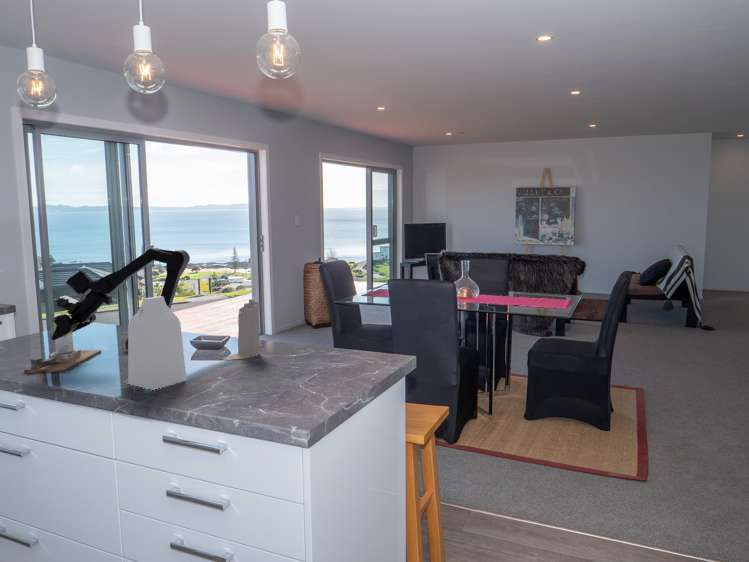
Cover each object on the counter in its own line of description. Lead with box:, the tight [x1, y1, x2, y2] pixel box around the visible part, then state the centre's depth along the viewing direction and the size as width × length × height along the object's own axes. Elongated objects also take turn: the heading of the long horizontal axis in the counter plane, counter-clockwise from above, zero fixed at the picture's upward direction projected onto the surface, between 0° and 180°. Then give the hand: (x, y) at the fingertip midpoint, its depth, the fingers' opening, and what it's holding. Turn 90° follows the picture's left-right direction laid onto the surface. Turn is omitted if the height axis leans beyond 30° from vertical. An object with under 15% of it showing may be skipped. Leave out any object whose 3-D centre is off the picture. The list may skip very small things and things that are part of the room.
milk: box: [127, 295, 187, 391], centre depth 171 cm, size 12×12×26 cm
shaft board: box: [23, 349, 102, 374], centre depth 196 cm, size 13×26×4 cm, turn 2°
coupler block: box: [53, 322, 74, 354], centre depth 195 cm, size 4×4×13 cm
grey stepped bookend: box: [221, 298, 261, 361], centre depth 202 cm, size 7×14×20 cm, turn 131°
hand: (59, 336), depth 195 cm, fingers open, 9 cm apart
